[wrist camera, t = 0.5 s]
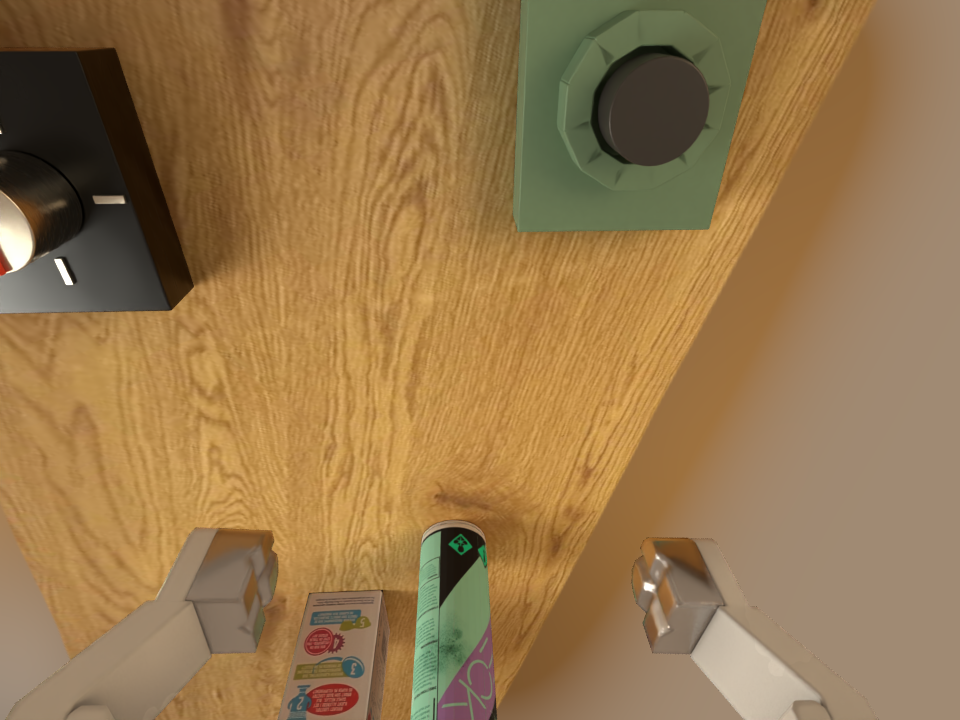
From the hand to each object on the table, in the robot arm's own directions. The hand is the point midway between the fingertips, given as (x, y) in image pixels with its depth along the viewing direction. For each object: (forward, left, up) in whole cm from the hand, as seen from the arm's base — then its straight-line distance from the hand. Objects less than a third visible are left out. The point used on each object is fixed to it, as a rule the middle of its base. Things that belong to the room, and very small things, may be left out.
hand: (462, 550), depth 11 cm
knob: (-3, -20, -18) cm, 27 cm away
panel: (-3, -20, -21) cm, 29 cm away
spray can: (+27, -1, -21) cm, 35 cm away
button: (-7, +8, -17) cm, 20 cm away
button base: (-7, +8, -21) cm, 24 cm away
